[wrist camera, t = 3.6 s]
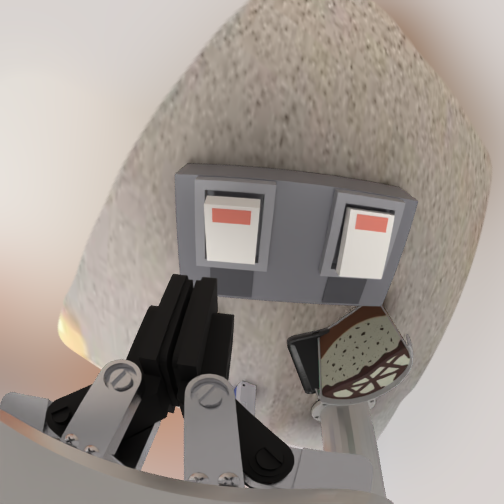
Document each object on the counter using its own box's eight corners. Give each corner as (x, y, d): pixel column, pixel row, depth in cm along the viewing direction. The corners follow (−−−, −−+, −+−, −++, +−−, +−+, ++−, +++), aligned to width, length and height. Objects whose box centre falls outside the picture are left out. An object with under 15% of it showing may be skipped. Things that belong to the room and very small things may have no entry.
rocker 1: (255, 254, 24) (254, 265, 23) (209, 250, 24) (206, 260, 23) (260, 199, 21) (259, 208, 20) (207, 195, 21) (203, 204, 20)
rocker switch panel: (371, 284, 31) (384, 312, 26) (190, 270, 31) (179, 298, 27) (400, 187, 25) (423, 205, 20) (187, 163, 25) (171, 177, 20)
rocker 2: (376, 273, 23) (381, 279, 22) (335, 270, 23) (339, 276, 22) (388, 212, 22) (395, 215, 20) (346, 206, 22) (351, 209, 20)
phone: (306, 394, 42) (285, 341, 35) (305, 389, 43) (285, 335, 36) (351, 384, 41) (344, 327, 34) (350, 379, 42) (343, 321, 34)
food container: (334, 357, 38) (345, 415, 29) (308, 340, 36) (316, 403, 27) (404, 310, 33) (431, 367, 24) (384, 286, 31) (413, 348, 22)
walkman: (238, 403, 46) (233, 461, 35) (224, 399, 45) (216, 458, 35) (257, 384, 42) (254, 450, 32) (241, 380, 41) (236, 447, 31)
